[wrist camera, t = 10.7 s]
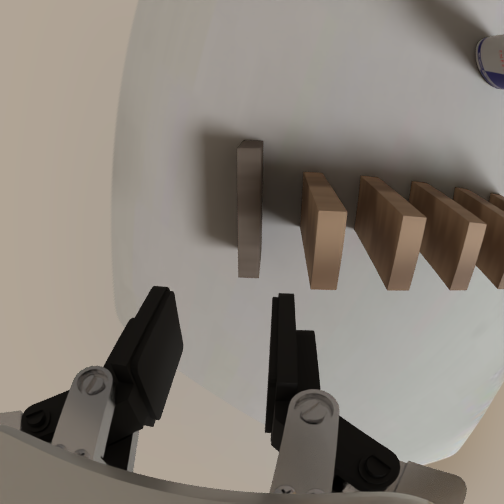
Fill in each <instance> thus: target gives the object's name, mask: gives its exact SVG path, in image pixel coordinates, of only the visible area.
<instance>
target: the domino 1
mask: <svg viewBox="0 0 504 504" xmlns="http://www.w3.org/2000/svg"><path fill="white" fill-rule="evenodd" d="M262 193H263V141H243V142H242V143H241V144H240V145H239V147H238V148H237V208H238V277H243V278H259V271H260V260H261V244H262Z"/></svg>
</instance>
